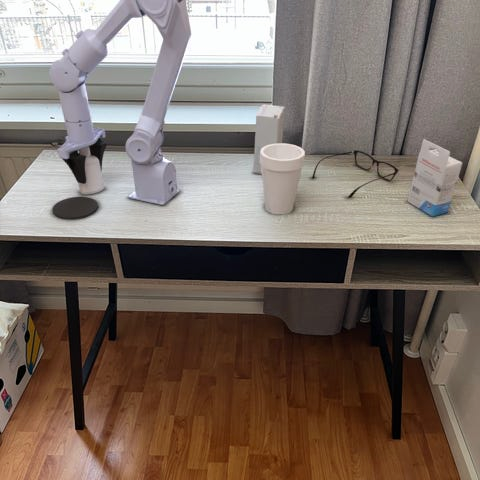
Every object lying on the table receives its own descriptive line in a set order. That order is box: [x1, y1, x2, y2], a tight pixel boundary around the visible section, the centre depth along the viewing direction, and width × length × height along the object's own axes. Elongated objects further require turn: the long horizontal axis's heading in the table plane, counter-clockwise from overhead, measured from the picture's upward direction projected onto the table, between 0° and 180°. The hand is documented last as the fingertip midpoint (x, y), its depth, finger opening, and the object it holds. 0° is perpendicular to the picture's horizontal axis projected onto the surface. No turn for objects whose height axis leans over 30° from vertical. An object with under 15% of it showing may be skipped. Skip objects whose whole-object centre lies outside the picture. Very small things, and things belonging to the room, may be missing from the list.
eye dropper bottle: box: [77, 146, 105, 195], centre depth 116 cm, size 4×6×12 cm
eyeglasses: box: [311, 149, 400, 199], centre depth 124 cm, size 16×16×4 cm
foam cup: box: [260, 142, 306, 215], centre depth 109 cm, size 10×9×13 cm
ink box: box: [407, 138, 463, 218], centre depth 110 cm, size 8×5×15 cm, turn 26°
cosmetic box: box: [253, 103, 286, 175], centre depth 125 cm, size 8×6×15 cm
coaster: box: [51, 196, 99, 220], centre depth 113 cm, size 10×10×1 cm
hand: (89, 177), depth 118 cm, fingers closed on eye dropper bottle, 5 cm apart
